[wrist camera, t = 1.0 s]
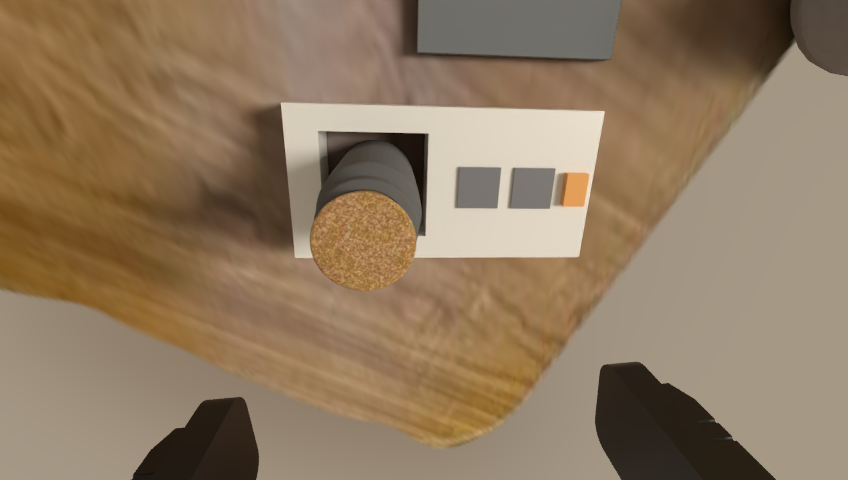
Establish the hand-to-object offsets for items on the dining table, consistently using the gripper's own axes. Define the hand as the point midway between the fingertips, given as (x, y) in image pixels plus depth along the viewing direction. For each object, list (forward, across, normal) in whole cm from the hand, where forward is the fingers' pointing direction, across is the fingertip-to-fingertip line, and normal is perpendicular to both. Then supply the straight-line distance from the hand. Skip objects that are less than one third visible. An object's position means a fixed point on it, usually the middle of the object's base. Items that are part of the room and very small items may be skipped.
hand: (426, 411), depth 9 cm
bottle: (+25, +2, -1) cm, 25 cm away
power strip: (+24, -3, -1) cm, 25 cm away
